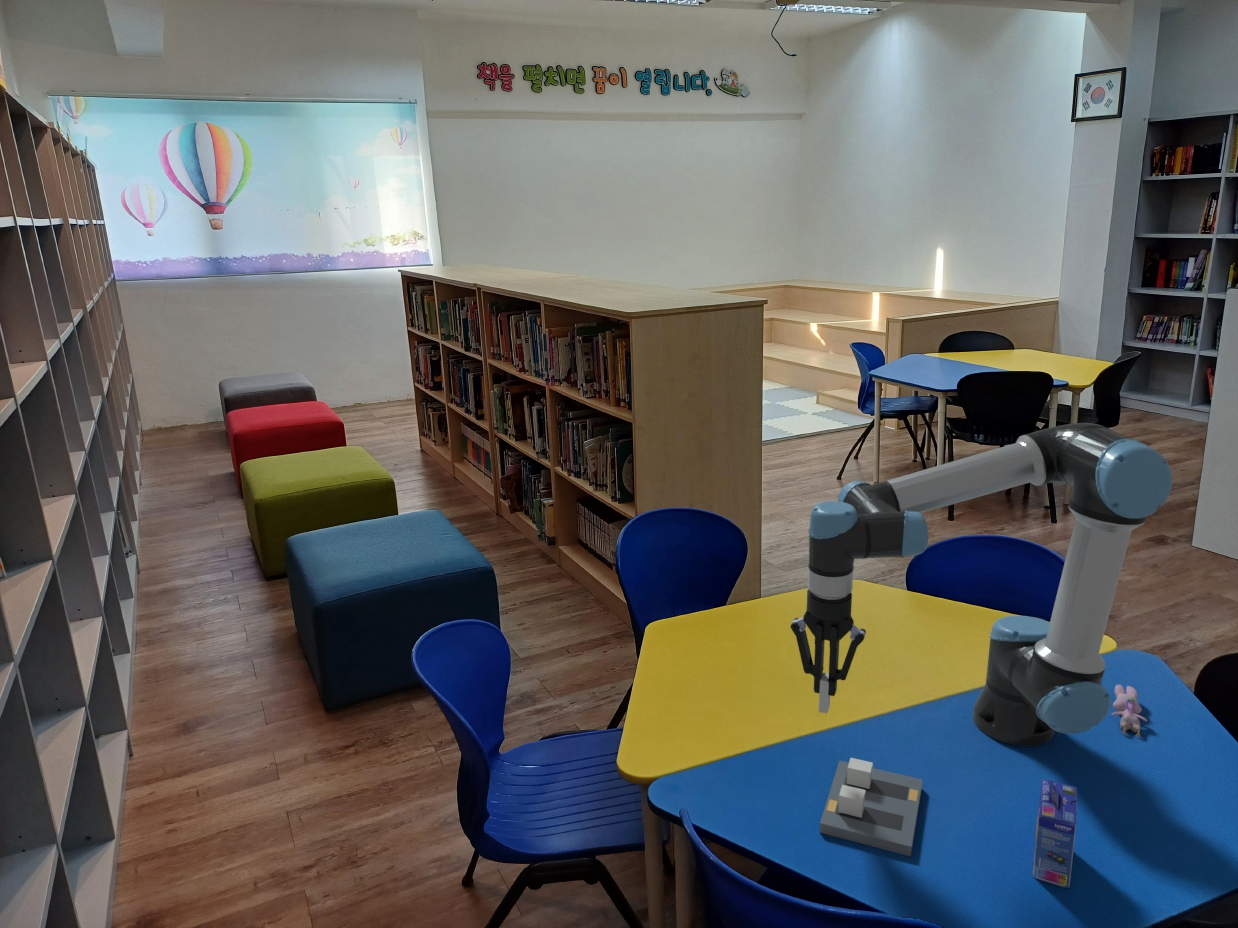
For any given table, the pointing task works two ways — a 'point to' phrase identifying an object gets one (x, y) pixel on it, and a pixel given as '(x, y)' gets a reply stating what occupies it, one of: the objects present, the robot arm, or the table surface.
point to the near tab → (851, 801)
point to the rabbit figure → (1128, 709)
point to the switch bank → (876, 811)
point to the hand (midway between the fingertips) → (824, 708)
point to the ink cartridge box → (1055, 833)
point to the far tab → (859, 773)
